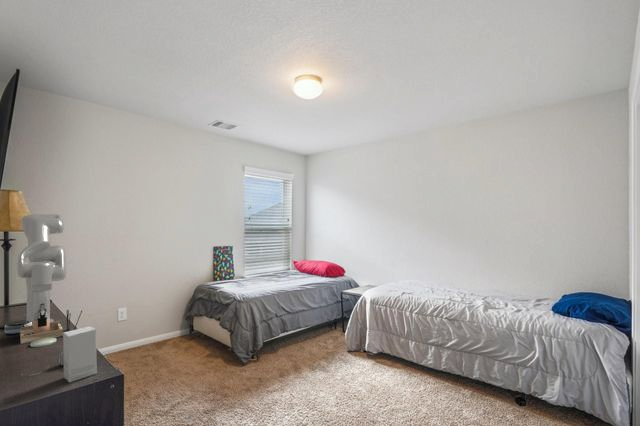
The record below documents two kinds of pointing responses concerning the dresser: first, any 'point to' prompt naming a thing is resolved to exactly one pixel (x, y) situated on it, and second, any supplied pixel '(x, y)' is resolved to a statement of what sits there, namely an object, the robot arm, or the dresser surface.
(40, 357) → the dresser surface
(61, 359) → the reed diffuser
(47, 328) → the terracotta pot
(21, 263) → the robot arm
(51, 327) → the wooden frame
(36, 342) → the pale mint disc
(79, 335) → the skincare box
